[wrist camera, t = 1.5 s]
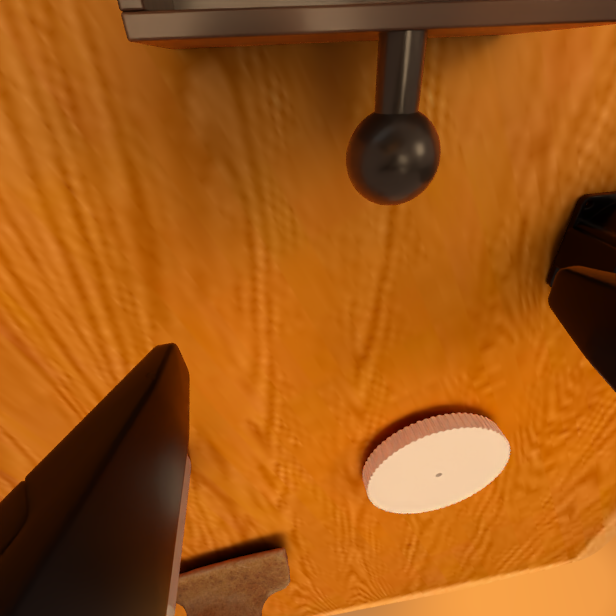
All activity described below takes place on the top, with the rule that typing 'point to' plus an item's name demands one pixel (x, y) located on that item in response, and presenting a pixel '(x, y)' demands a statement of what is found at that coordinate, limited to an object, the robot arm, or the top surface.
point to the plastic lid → (435, 463)
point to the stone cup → (234, 585)
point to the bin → (390, 64)
